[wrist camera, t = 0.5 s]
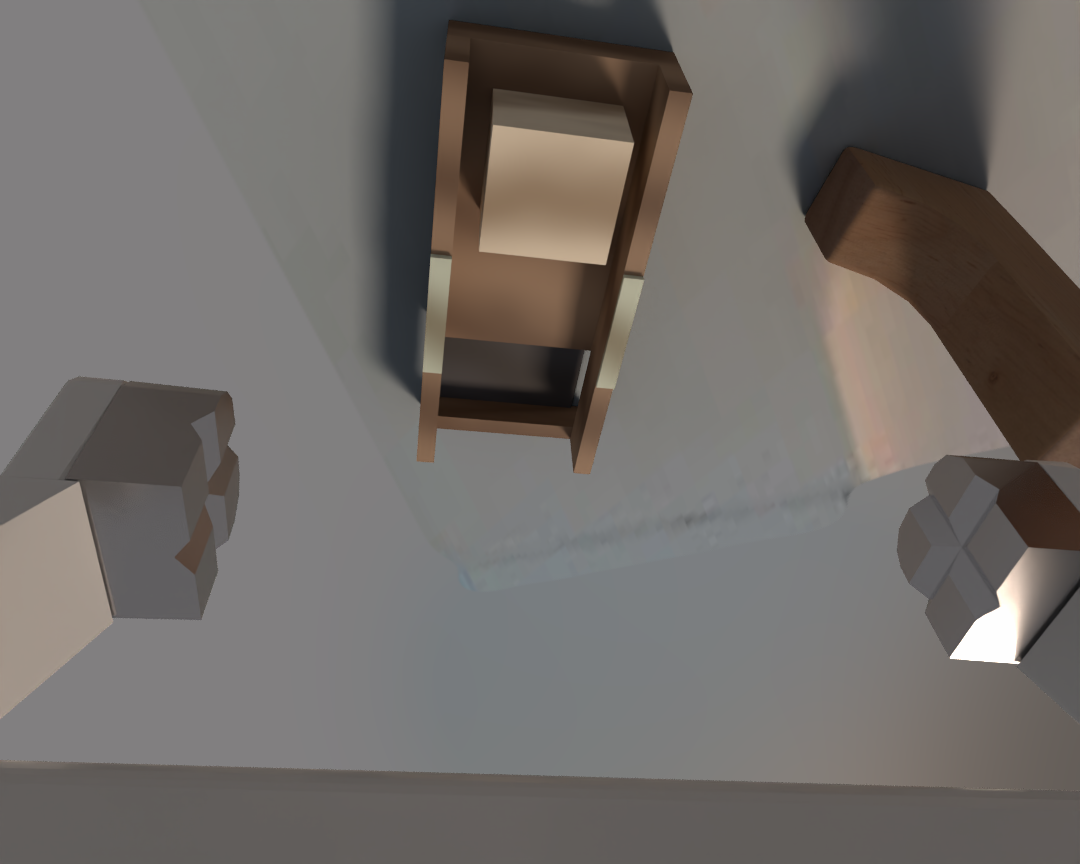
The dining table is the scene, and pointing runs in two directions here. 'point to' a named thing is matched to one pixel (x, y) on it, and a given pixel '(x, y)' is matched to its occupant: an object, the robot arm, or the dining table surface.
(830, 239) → the wooden block
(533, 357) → the walled channel
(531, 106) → the birch block
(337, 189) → the dining table surface
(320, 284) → the dining table surface
